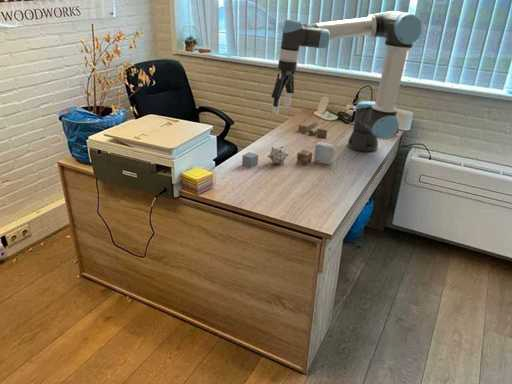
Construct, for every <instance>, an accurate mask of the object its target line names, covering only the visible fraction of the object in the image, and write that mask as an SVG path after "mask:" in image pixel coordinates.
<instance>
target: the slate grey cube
mask: <svg viewBox="0 0 512 384" xmlns="http://www.w3.org/2000/svg"><path fill="white" fill-rule="evenodd" d="M241 156H242V159H241V160H242V163H241V165H242V167H246V168H250V169H253V168H255V167H256V166H258V165H259V164H258V163H259V154H257V153H253V152H250V151H249V152H247V153H244V154H243V155H241Z"/></svg>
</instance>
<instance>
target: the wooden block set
mask: <svg viewBox="0 0 512 384" xmlns="http://www.w3.org/2000/svg"><path fill="white" fill-rule="evenodd" d="M297 132H298V133H300V132H301V134H304V133H306V134H308V135H309V136H310V137H311V136H314V135H316V137H317V136H318V137H319V138H322V139H327V135H328V130H327V128H326V127H325V125H322V124H319V120H318V119H317V118H314V117H313V118H311V119H308V120H306V121H304V122H302V123H300V124H298V131H297ZM307 132H308V133H307Z"/></svg>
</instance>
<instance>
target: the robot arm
mask: <svg viewBox="0 0 512 384" xmlns="http://www.w3.org/2000/svg"><path fill="white" fill-rule="evenodd" d="M422 32H423V24H422V21H421V19H420V18H419V17H418V16H417V15H415V14H413V13H410V12H405V11H404V12H403V11H398V10H390V11H383V12H377V13H372V14H369V15H368V16H367V17H366V16H365V17H359V18H350V19H348V18H347V19H342V20H333V21H331V20H330V21H324V22H316V23H303V21H302V20H301V21H300V20H295V19H286V20H285V21H284V24H283V29H282V36H281V45H280V50H279V51H278V52H279V60H278V65H277V68H278V70H280V71H281V72H280V73H277V77H276V81H275V83H274V84H275V85H274V87H273V91H272V93H271V98H272V99H273V102H272V109H271V114H273V115H274V114H275V115H279V111H280V104H281V96H282V94H283V91H284V88H285V93H284V99H283V106H282V107H283V108H286V109H290V106H291V100H292V94H294V93H295V72H296V70H297V66H298V63H297V61H298V60H299V54H300V53H299V52H300V47H305V48H307V47H308V48H314V49H325V48H326V49H327V47H328V46H329V43H330V42H331V41H330V40H338V39H339V40H340V39H346V38H347V39H348V38H355V37H363V36H365V37H366V36H368V37H369V38H374V37H375V38H376V37H377V38H385V41H384V46H385V47H386V54H385V59H384V63H383V68H382V73H381V75H380V76H381V77H380V80H379V86H378V92H377V96H376V99H375V100H376V101H369V100H367V101H366V100H363V101H359V102H358V103H357V104H356V107H355V113H354V121H353V127H352V132H351V134H350V135H349V138H348V140H347V147H349V149H352V150H354V151H358V152H365V153H368V152H374V151H376V150H378V148H379V139H382V140H384V139H385V140H386V139H388V138H391V137H392V136H394V135H395V134H396V132H397V131H398V128H399V125H400V124H399V120H398V118H397V114H398V113H397V112H398V109H397V107H396V102H397V98H398V94H399V89H400V86H401V82H402V77H403V73H404V69H405V64H406V60H407V56H408V52H409V51H411V50H412V49H413V46H414V43H416V42H417V41H418V40H419V38H421V35H422ZM378 138H379V139H378Z"/></svg>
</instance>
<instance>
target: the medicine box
mask: <svg viewBox="0 0 512 384" xmlns="http://www.w3.org/2000/svg"><path fill="white" fill-rule="evenodd" d="M334 153H335V144H332V143H326V142H322V141H321V142H320V141H318V142H317V143H316V144H315V149H314V158H313V162H314V163H318V164H323V165H324V164H325V165H328V166H331V164H333V162H334V157H335V156H334V155H335V154H334Z"/></svg>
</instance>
